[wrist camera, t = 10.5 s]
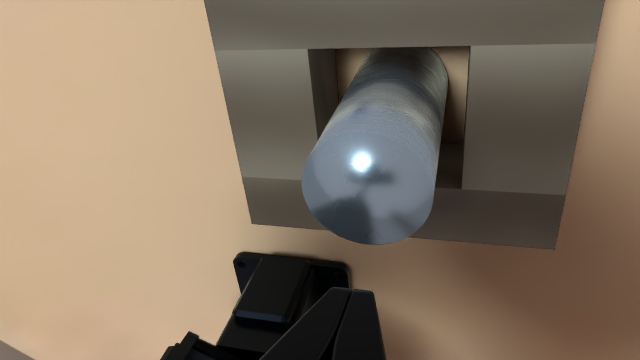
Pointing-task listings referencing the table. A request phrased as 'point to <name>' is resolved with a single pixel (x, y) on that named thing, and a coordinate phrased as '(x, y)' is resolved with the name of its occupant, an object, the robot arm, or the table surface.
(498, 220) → the hitch block
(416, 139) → the steel peg
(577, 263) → the table surface
